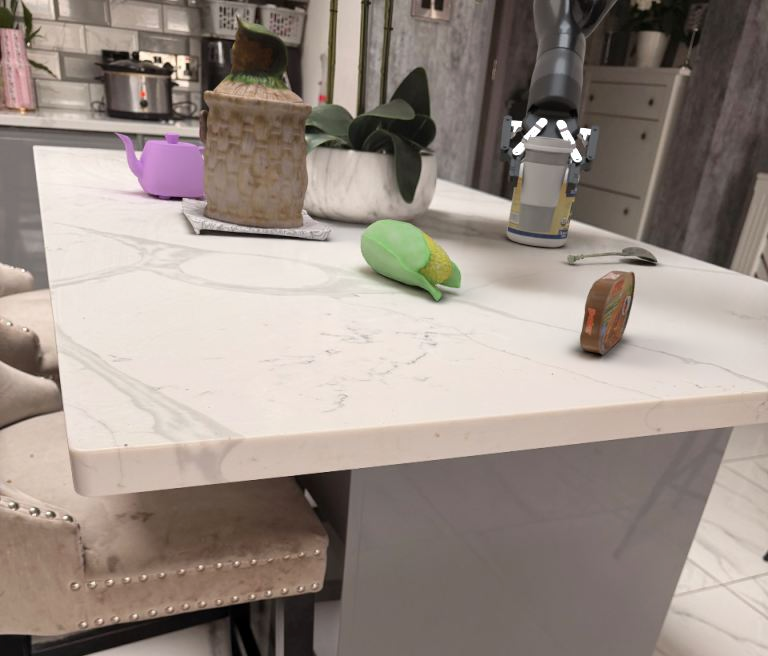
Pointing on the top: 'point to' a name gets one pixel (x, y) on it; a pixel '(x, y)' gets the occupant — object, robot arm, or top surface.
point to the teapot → (168, 167)
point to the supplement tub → (559, 221)
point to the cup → (542, 181)
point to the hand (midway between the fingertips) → (542, 186)
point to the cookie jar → (254, 146)
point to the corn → (408, 256)
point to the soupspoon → (618, 254)
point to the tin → (607, 311)
